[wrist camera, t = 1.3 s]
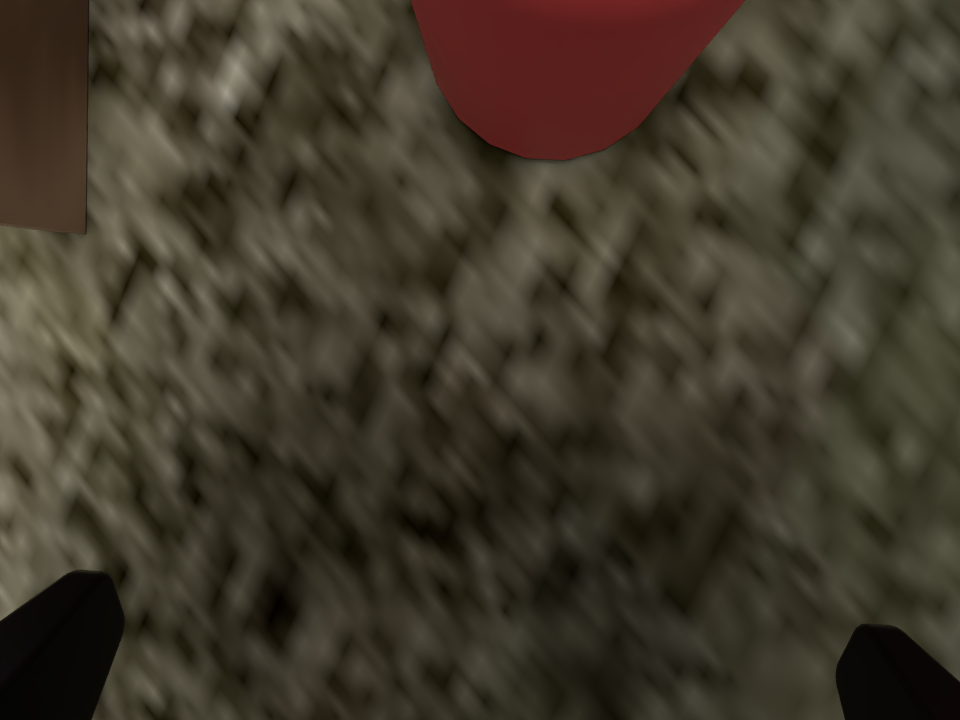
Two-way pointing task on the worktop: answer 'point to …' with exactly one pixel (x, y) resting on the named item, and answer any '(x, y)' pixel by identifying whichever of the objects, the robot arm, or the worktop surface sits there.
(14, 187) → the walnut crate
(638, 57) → the beer can
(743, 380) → the worktop surface
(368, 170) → the worktop surface
